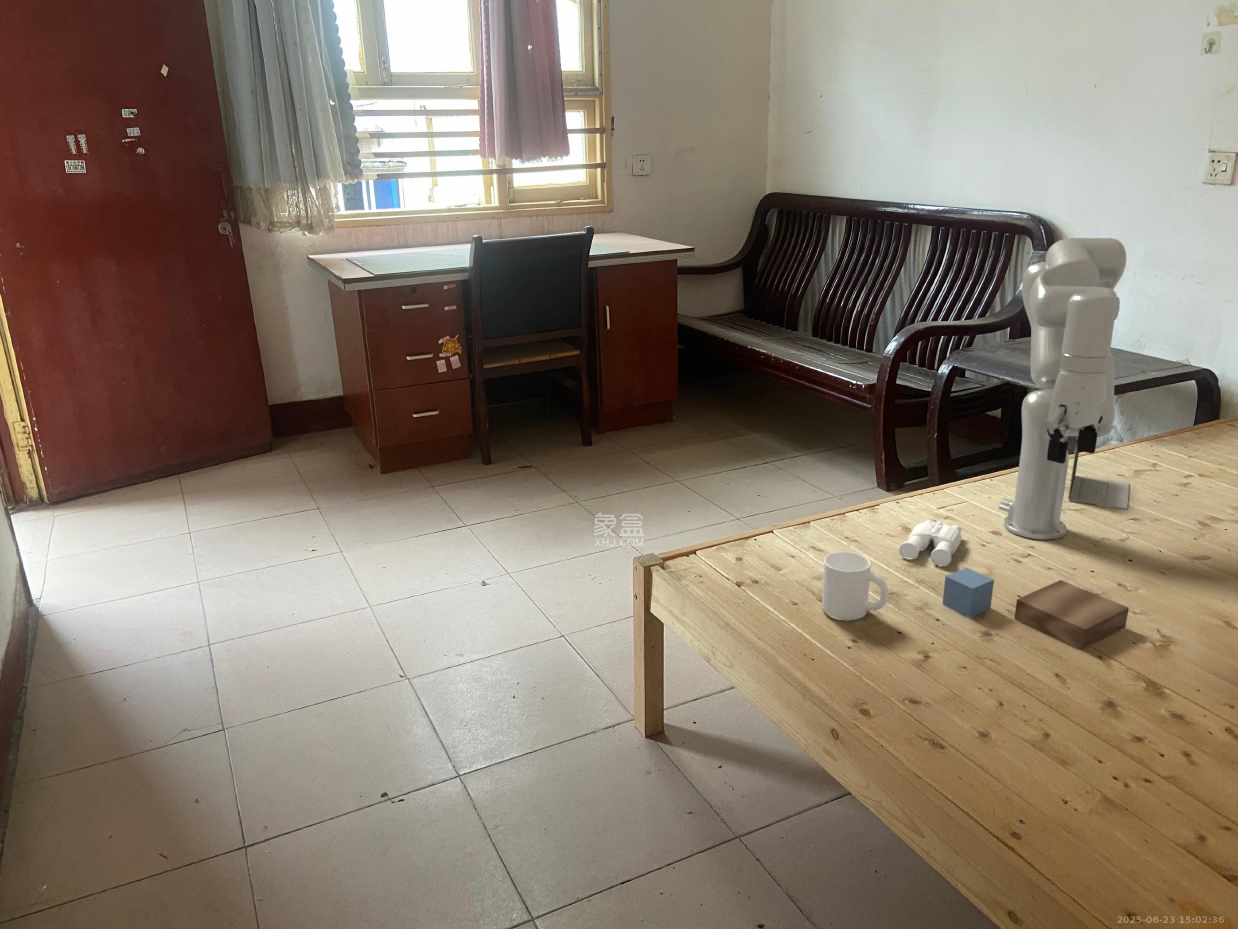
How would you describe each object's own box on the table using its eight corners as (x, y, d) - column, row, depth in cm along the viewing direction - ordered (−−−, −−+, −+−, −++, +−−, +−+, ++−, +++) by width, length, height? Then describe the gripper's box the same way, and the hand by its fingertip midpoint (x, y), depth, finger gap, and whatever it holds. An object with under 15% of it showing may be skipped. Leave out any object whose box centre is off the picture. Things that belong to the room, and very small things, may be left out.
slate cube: (942, 604, 170) (945, 576, 168) (963, 596, 173) (966, 567, 171) (969, 617, 165) (972, 588, 163) (990, 608, 168) (994, 579, 166)
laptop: (1126, 511, 209) (1136, 458, 205) (1066, 502, 215) (1074, 450, 210) (1129, 485, 224) (1137, 435, 219) (1072, 478, 230) (1080, 429, 225)
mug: (892, 612, 168) (897, 562, 165) (878, 632, 162) (882, 580, 158) (830, 596, 174) (833, 548, 171) (814, 615, 168) (817, 565, 164)
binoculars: (897, 559, 189) (899, 539, 188) (917, 531, 202) (918, 512, 200) (949, 570, 184) (951, 549, 182) (966, 540, 197) (968, 521, 195)
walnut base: (1014, 618, 164) (1016, 599, 163) (1057, 598, 171) (1060, 579, 169) (1081, 650, 154) (1085, 629, 153) (1125, 627, 160) (1128, 607, 159)
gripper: (1089, 354, 167) (1076, 443, 172) (1035, 367, 158) (1024, 460, 163) (1130, 360, 161) (1116, 452, 167) (1077, 374, 152) (1064, 470, 157)
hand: (1070, 456), depth 165 cm, fingers open, 9 cm apart
